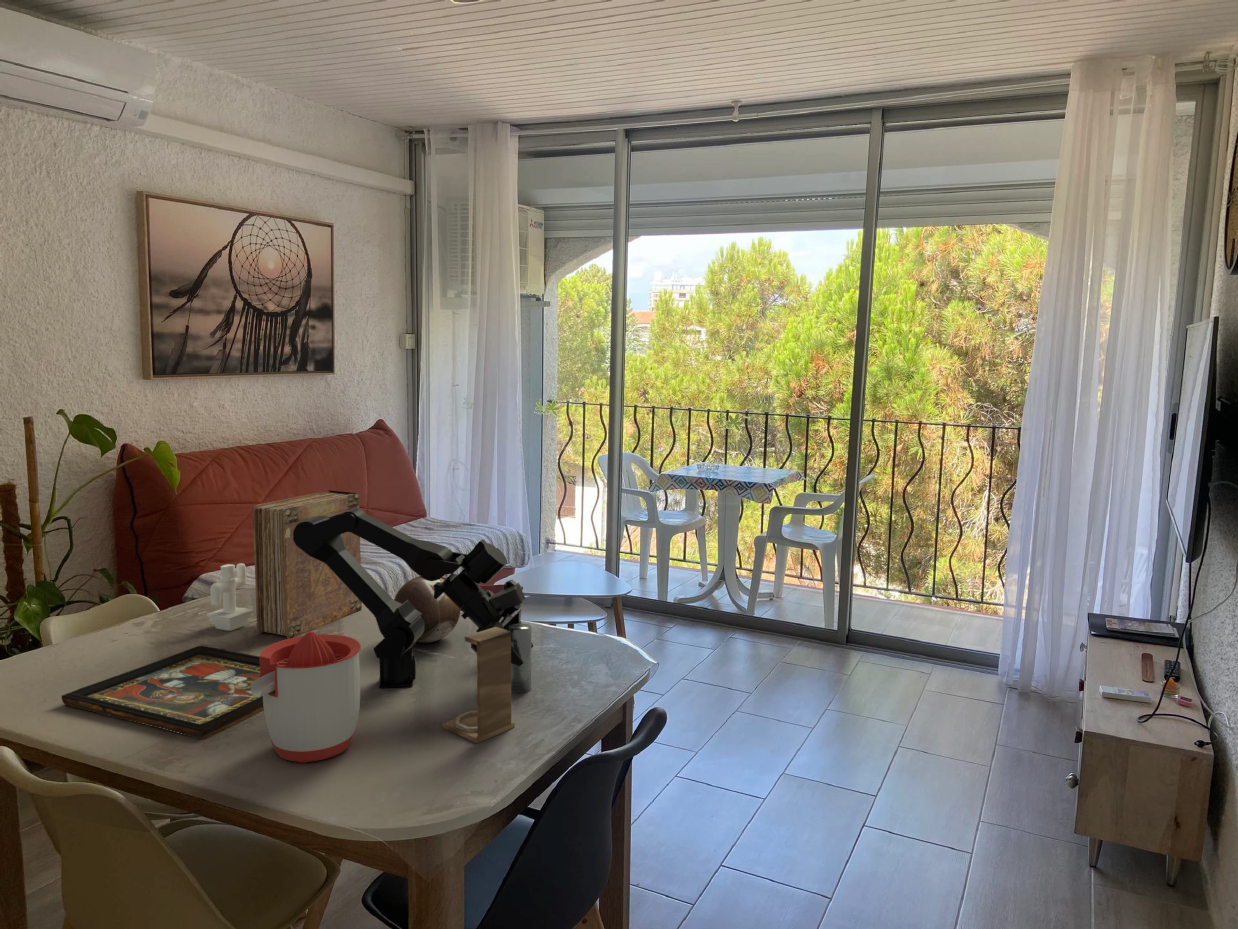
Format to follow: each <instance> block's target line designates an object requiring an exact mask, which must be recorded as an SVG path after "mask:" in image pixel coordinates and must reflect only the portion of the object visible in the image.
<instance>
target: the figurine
mask: <svg viewBox="0 0 1238 929" xmlns="http://www.w3.org/2000/svg"><path fill="white" fill-rule="evenodd" d="M235 569H236V570H235ZM246 570H247V569H246V565H245V563H242V562H241V563H237V564H236V565H235V564H233V563H231V564H229V563H227V564H224V565H220V573H221V580H220V581H217V582H214V583H212V584H211V586H210V605H211V606H212V607H219V606H220V605H221V604H222V608H220V609H218V610H215V611H211V612H208V613H206V614H205V615H206V616H207V618H208V619H209V620H210V622H211V623H212V625H213V626H214V628H215V629H216V630H221V631H223V630H224V631H231V632H232V631H233V630H237V629H239V628H241V627H242V628H243V627H245V626H246V625H247V622H248V621H249V619H250V617H251V615H252V613H253V612H254V609H252V608H251V609H250V608H246V607H240V606H239V607H238V606H237V600H236V599H237V598H236V597H237V596H236V595H237V594H236V590H237V589H239V588H242V587H244V586H245V585H246V583H247V571H246ZM221 597H222V601H221ZM221 602H222V603H221Z"/></svg>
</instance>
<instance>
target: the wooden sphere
mask: <svg viewBox="0 0 1238 929" xmlns="http://www.w3.org/2000/svg"><path fill="white" fill-rule="evenodd" d="M444 580H445V579H444V578H443V577H442V578H440V579H439V580H436V581H428V580H425V579H424V578H422V577H421V576H420V575H418V576H415V577H413V578H411V579H410V580H408V581H407V582H405V583H404V584H403V585H402V586H401V587H400V588H399V589H398V591H397V593H396V595H395V596H394V599H393V600H395V601H397V602H399V603H401V604H403V603H404V602H405V601H407V600H409V601H410V602H411V603H412V605H413V606H414V608H415V609H416V610H417V611H419V612H421V613H422V615H421V617H422V619H423V620H424V623H425V624H424V632H423V634H422V635H421V637H420V638H419V639H418V640H416V643H421V644H422V643H424V644H426V643H428V644H429V643H433V642H434V643H435V642H437V641H440V640H443V639H444V638H446V637H447V636H448V635H450V633H451V632H453V630H454V629H455V627H456V626H457V624H458V621H459V619H460V618H461V617H460V616H461V612H462V611H461V610H460V609H461V608H460V609H459V608H458V607H457V606H456V605H455V604H454V602H453V601H452V600H451V599H450V598H449V597H448V596H447V595H446V594H445V593H443V594H442V595H441V596H439V597H438V598H437V599H434V585H435V584H436V583H437V582H443V581H444Z"/></svg>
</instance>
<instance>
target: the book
mask: <svg viewBox="0 0 1238 929" xmlns="http://www.w3.org/2000/svg"><path fill="white" fill-rule="evenodd" d="M353 508H358V509H360V493H358V492H350V491H340V490H339V491H338V490H326V491H320V492H319V491H318V492H315V493H310V494H304V495H299V496H294V497H289V498H285V499H280V500H275V501H270V502H269V501H268V502H264V503H260V504H254V505H253V506H252V524H253V525H252V527H253V529H252V530H253V532H252V533H253V550H254V551H253V554H254V556H253V557H254V559H253V560H254V579H255V580H254V581H255V582H254V583H255V586H254V587H255V605H256V606H255V609H256V610H255V611H256V615H255V616H256V633H257V634H258V635H261V634H263V633H268V634H274V635H279V636H285V637H286V638H287V639H289V638H294V637H299V636H301V635H303V634H306V633H308V632H310V631H311V632H312V630H315V629H317V628H318V629H319V628H320V627H322V626H325V625H328V624H330V623H332V622H334V621H337V620H340V619H342V618H344V617H347V616H350V615H352V614H354V613H358V612H359V611H361V610H362V607H363V605H362V604H363V603H362V602H361V601H360V600H359V599H358V598H357V597H356V596H355V595H354V594H353V592H352V591H351V590H350V589H349V588H348V587H347V586H346V585H345V584H344V583H343V582H342V581H341V580H340V579H339V577H338V576H337V575H336V574H335V573H334V572H333V571H332V570H331V569H330V568H329V567H328V566H327V565H326V564H325V563H323V562H321V561H319V560H317V559H315V558H312V557H310V556H309V555H308V554H306V553H305V552H304V551H302V550H301V549H300V548H298V547H297V546H296V544H295V543H294V541H293V532H294V528H295V527H296V526H297V525H298V524H299V523H301V522H303V521H305V520H308V519H310V518H313V517H315V516H326V517H328V518H329V517H332V516H335V515H338V514H341V513H344V512H347V511H349V510H351V509H353ZM341 537H342V540H343V543H344V546H345V548H346V549H347V550H348V552H349V553H350V554H351V555H352V556H353V557H354V558H355V559H356V560H357V561H358V562H359V563H360V564H361V560H362V559H361V537H359V536H357V535H355V534H353V533H351V532H346V533H343V534H341Z"/></svg>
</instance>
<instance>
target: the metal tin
mask: <svg viewBox="0 0 1238 929" xmlns="http://www.w3.org/2000/svg"><path fill="white" fill-rule="evenodd" d="M509 631H511V645H512V647H513V648H514V649H515V651H516V652H517V653H518V654H519V656H520V657H521V659H522V660H523V662H524V663H523V664H522V665H521V666H517V665H515V664H512V663H511V693H514V694H524V693H528V692H530V691H531V690H532V648H531V642H532V626H531V625H530V624H527V623H522V624H513V625H510V626H509Z"/></svg>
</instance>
